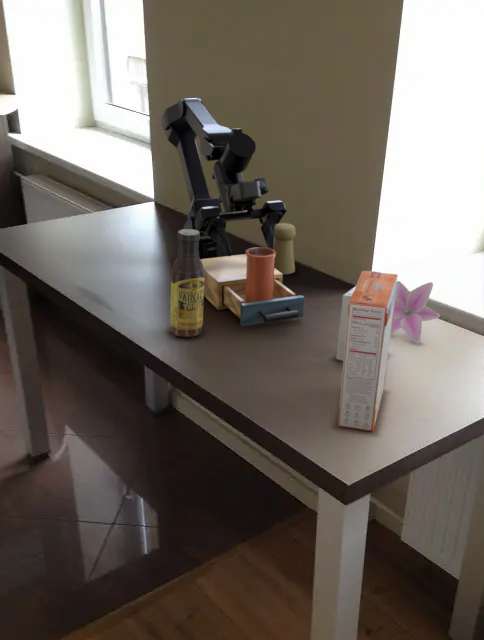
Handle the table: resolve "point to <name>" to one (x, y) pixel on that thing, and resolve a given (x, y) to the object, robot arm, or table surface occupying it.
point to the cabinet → (225, 276)
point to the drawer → (263, 304)
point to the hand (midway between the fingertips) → (251, 253)
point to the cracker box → (366, 349)
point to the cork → (284, 248)
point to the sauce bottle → (187, 286)
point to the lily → (412, 310)
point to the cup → (259, 274)
